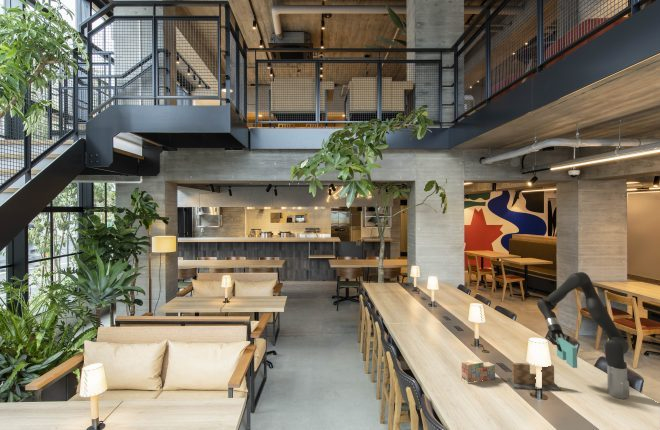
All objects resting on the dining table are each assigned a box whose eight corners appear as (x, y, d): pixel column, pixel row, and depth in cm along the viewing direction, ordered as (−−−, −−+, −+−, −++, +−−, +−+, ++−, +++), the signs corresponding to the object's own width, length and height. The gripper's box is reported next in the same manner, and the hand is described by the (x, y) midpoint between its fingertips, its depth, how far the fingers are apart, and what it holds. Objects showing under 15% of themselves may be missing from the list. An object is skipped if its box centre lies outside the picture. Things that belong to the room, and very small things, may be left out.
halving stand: (551, 382, 235) (551, 361, 235) (560, 390, 223) (560, 369, 223) (507, 380, 239) (507, 359, 239) (514, 388, 227) (513, 367, 227)
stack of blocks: (488, 375, 246) (488, 357, 246) (495, 379, 240) (495, 360, 240) (461, 379, 240) (461, 361, 240) (467, 383, 234) (467, 364, 234)
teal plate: (556, 355, 238) (556, 337, 238) (560, 355, 238) (560, 337, 238) (572, 367, 218) (572, 347, 219) (577, 367, 218) (576, 347, 218)
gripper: (544, 323, 243) (553, 347, 230) (566, 323, 241) (577, 348, 229) (541, 328, 248) (549, 353, 236) (563, 329, 246) (573, 354, 234)
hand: (563, 350), depth 232 cm, fingers closed on teal plate, 2 cm apart
